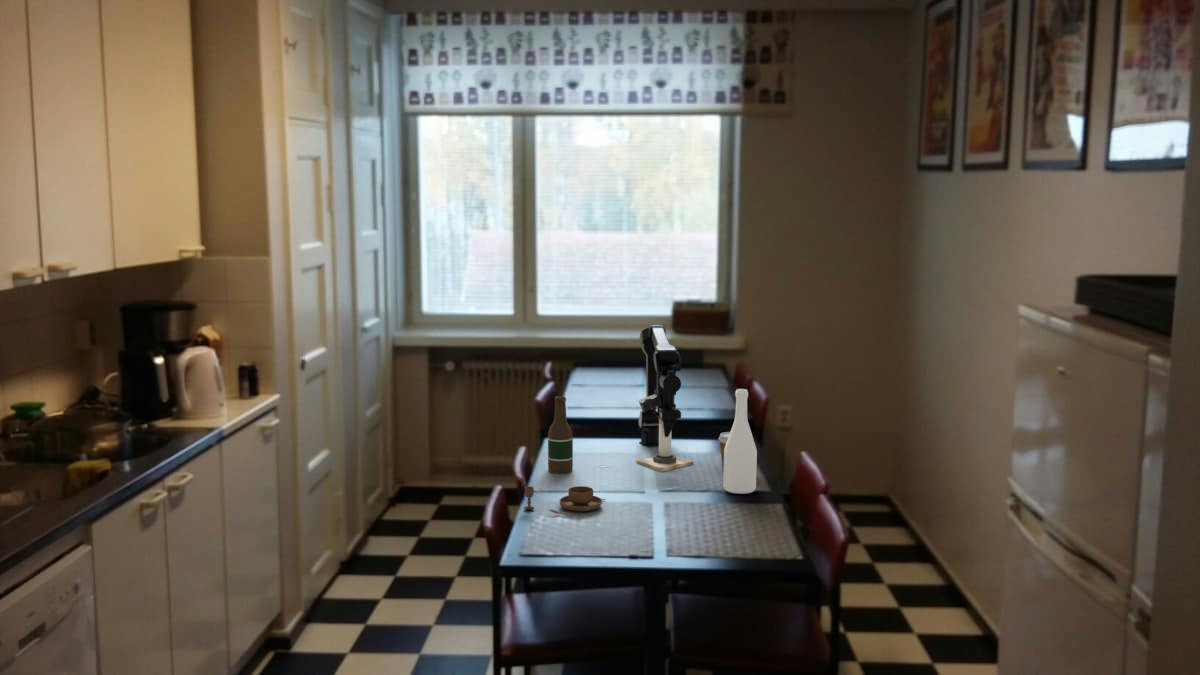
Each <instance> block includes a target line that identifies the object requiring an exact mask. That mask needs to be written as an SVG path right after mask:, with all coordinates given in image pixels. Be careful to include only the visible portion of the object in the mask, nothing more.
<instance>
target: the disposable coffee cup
mask: <svg viewBox="0 0 1200 675" xmlns="http://www.w3.org/2000/svg"><path fill="white" fill-rule="evenodd" d="M730 432H731V431H726V432H721V433H720V434H719V437H718V441H719V447H720V455H721V465H722V466H721V468H722V472H723V473H724V449H725V446H726V443H727V440H728V437H729V435H730Z"/></svg>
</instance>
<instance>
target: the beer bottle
mask: <svg viewBox="0 0 1200 675" xmlns="http://www.w3.org/2000/svg"><path fill="white" fill-rule="evenodd" d="M566 401H567V398H566V396H562V395H557V396H555V397H554V416H553V422H552V423H551V425H550V427H549V430H548V434H547V435H548V436H547V468H548V471H549V473H551V474H555V475H556V474H557V475H565V474H570V473H572V472H573V466H574V465H573V464H574V461H573V460H574V455H573V453H574V451H573V450H574V446H573V445H574V441H573V440H574V439H573V436H574V435H573V431H572V428H571V426H570V425H569V423H568V419H567V418H568V417H567V405H566Z"/></svg>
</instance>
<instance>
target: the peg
mask: <svg viewBox="0 0 1200 675" xmlns="http://www.w3.org/2000/svg"><path fill="white" fill-rule="evenodd" d="M658 454H659V456H662V457H669V456H671V454H672V431H671V432H670V434H669V436H668V437H665V435H664V428H663V421H662V420H661V419H660V418H659V445H658Z"/></svg>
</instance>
